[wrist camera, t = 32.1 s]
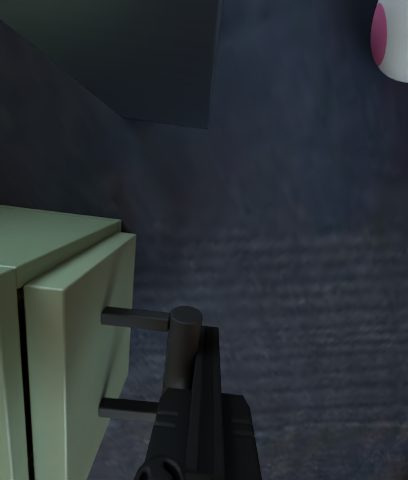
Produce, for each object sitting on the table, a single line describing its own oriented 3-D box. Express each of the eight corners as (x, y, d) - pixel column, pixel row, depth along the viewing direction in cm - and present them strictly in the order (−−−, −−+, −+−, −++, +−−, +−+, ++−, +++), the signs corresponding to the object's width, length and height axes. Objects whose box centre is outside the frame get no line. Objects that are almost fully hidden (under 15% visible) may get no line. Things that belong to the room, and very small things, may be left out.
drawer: (206, 242, 14) (211, 306, 7) (188, 379, 17) (177, 537, 9) (-74, 208, 14) (-396, 238, 6) (-52, 355, 16) (-269, 502, 9)
